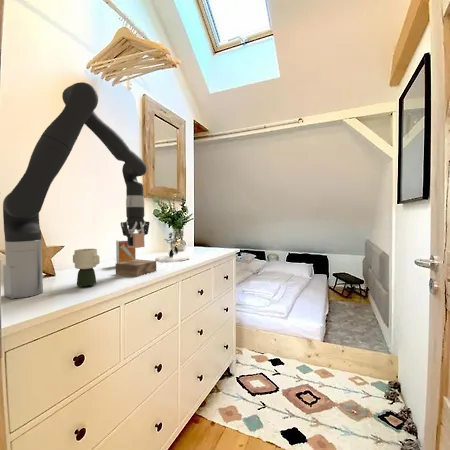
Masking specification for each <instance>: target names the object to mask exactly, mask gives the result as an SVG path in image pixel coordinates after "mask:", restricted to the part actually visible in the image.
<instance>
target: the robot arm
mask: <svg viewBox="0 0 450 450" xmlns="http://www.w3.org/2000/svg"><path fill="white" fill-rule="evenodd" d="M61 99H62V102H63V103H64V105H65V106H64V108H63V109H62V110H61V113H59V115H57V117H55V119H54V120H53V121H52V122H51V123H50V124H49V125H48V126H47V127H46V128H45V130H44V131H43V132H42V134H41V135H40V137H39V139H38V140H37V142H36V144H35V147H34V148H33V150H32V152H31V155H30V158H29V162H28V165H27V168H26V170H25V171H24V174H23V175H22V177H21V178H20V180H19V181H18V182H17V184H16V185H15V187H14V188H13V189H12V190H11V191H10V192H9V193H8V194H7V195H6V196H5V197H4V199H3V203H2V217H3V220H2V221H3V233H4V247H5V248H4V251H5V252H4V253H5V254H4V256H5V265H3V267H2V268H3V269H2V271H3V272H2V274H3V275H2V276H3V296H4V297H6V298H8V299H11V300H13V299H17V298H18V299H21V298H27V297H32V296H36V295H40V294H41V293H43V292H44V283H43V251H42V249H43V247H42V246H43V245H42V230H41V226H40V211H41V210H42V208H43V205H44V203H45V202H44V201H45V199H46V196H47V194H48V192H49V189H50V187H51V184H52V183H53V181H54V180H55V178H56V177H57V175H58V174H59V172H60V171H61V170H62V168H63V166H64V164H65V163H66V161H67V160H68V158H69V156H70V155H71V153H72V150H73V148H74V146H75V144H76V142H77V141H78V138H79V135H80V134H81V132H82V130H83V128H84V126H86V127H87V128H88V129H89V130H90V131H91V132H92V133H93V134H94V135H95V136H96V137H97V138H98V139H99V140H100V141H101V142H102V144H103V145H104V146H105V147H106V149H107V150H108V151H109V152H110V153H111V155H112V156H113V157H114V158H115V160H117V161H119V162H120V161H121V162H124V163H123V165H122V169H121V170H122V172H121V173H122V176H123V180H124V184H125V186H126V189H125V190H126V194H125V195H126V198H125V208H126V211H125V212H126V215H125V216H126V221H121V222H120V227H121V232H122V235H123V236H124V237H126V238H128V245H129V246H133V233H136V231H137V233H144V237H145V236H146V235H149V228H150V221H147V220H145V219H144V217H145V198H144V186H143V183H142V182H140V181H139V180H138V178H139V177H142V176H144V175H145V174H146V173H147V166H146V163H145V161H144V160H143V159H142V158H141V157H140V156H139V155H138V154H137V153H135V152H134V151H133V150H132V149H130V147H129V146H128V145H127V143H126V142H125V140H124V139H123V138H122V137H121V136H120V134H119V133H118V132H116V131H115V129H113V128H112V127H110V126H109V125H108V124H106V122H104V120H102V119H101V118H100V116H98V114H97V113H96V111H95V110H96V108H97V107H98V104H99V95H98V92H97V90H96V89H95V87H94V86H93V85H91V84H90V83H87V82H83V81H82V82H76V83H73V84H71V85H69V86H67V87H66V88H65V89H64V90H63V91H62V97H61ZM137 177H138V178H137ZM138 181H139V182H138Z"/></svg>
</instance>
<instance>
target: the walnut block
mask: <svg viewBox="0 0 450 450" xmlns="http://www.w3.org/2000/svg"><path fill="white" fill-rule="evenodd" d="M155 271H156V272H157V261H155V260H148V259H137V258H136V259H135V260H130V261H126V262H121V263H117V262H116V263H115V275H120V276H124V277H125V276H126V277H127V276H128V277H134V278H135V277H136V278H138V277H141V275H142V276H145V275H148V274H147V273H149V274H152V273H155ZM151 272H152V273H151ZM144 274H145V275H144Z"/></svg>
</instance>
